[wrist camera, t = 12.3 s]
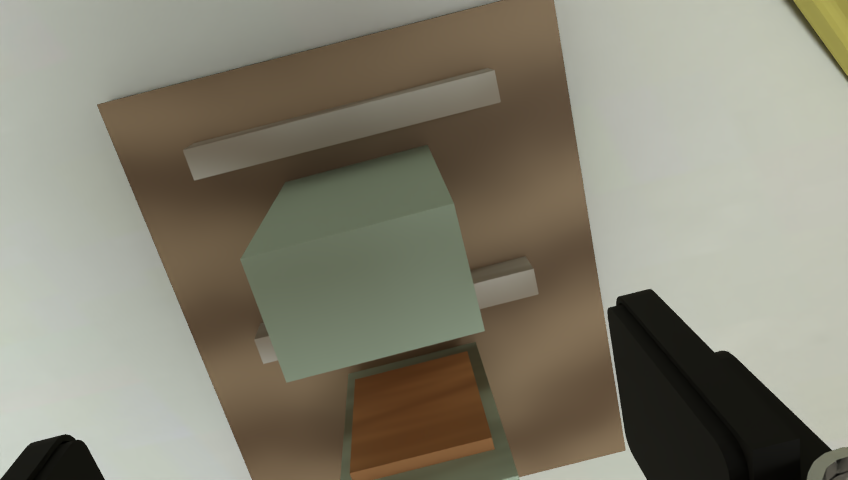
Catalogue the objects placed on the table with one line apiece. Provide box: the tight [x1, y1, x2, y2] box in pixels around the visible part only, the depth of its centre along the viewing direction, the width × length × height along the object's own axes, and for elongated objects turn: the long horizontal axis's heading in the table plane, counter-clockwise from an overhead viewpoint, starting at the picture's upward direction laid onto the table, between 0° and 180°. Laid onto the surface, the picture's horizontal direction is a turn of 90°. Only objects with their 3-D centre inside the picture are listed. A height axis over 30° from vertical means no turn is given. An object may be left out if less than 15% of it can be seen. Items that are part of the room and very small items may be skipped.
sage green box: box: [240, 145, 485, 383], centre depth 22 cm, size 4×6×9 cm
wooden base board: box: [97, 0, 625, 480], centre depth 24 cm, size 22×18×10 cm
